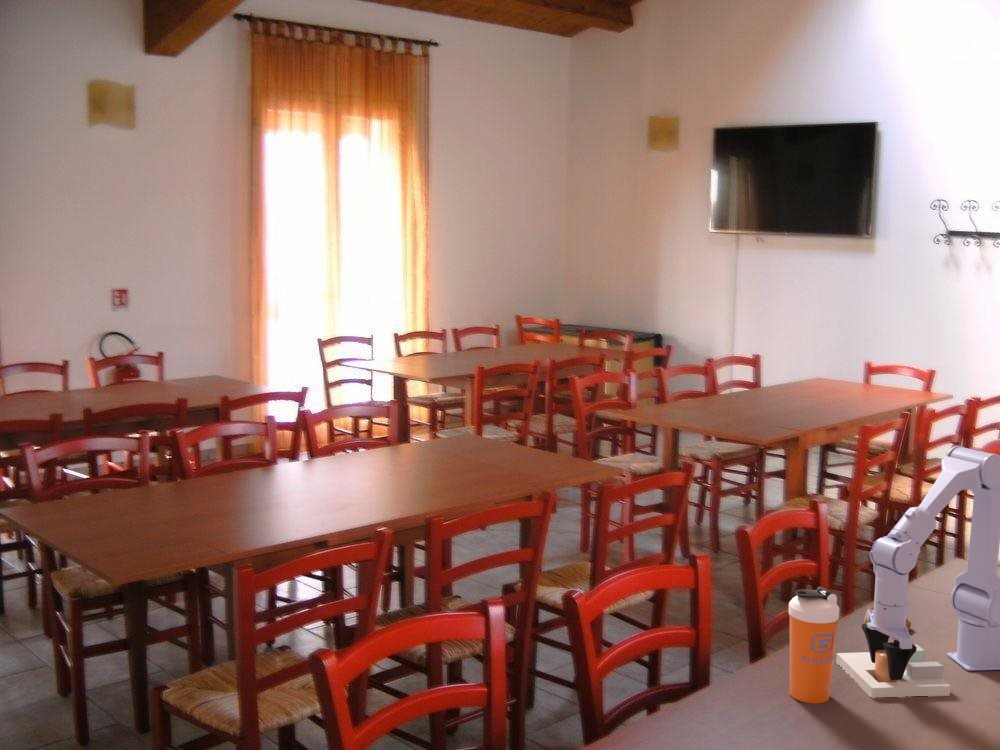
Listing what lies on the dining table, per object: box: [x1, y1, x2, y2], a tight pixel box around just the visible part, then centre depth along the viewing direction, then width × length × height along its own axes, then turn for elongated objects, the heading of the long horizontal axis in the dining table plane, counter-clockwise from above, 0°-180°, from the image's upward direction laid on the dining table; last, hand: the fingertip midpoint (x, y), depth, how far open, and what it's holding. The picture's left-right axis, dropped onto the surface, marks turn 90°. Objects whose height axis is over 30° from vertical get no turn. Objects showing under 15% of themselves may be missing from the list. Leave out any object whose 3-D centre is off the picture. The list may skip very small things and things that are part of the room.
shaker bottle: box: [787, 586, 840, 705], centre depth 190 cm, size 9×9×20 cm
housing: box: [835, 651, 951, 699], centre depth 198 cm, size 15×16×4 cm
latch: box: [909, 644, 926, 662], centre depth 202 cm, size 6×3×2 cm, turn 95°
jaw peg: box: [874, 650, 897, 683], centre depth 195 cm, size 4×4×6 cm
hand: (886, 670), depth 195 cm, fingers open, 7 cm apart
